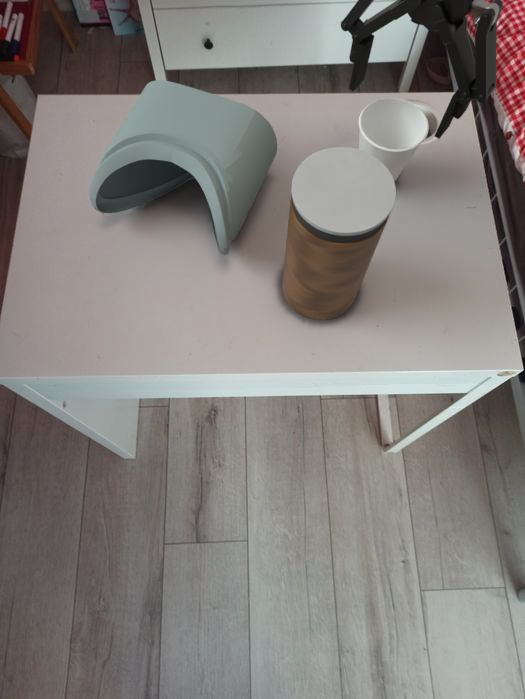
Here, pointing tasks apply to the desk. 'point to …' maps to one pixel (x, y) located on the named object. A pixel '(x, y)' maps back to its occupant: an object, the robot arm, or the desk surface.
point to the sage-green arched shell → (187, 155)
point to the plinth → (323, 270)
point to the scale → (342, 194)
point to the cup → (392, 131)
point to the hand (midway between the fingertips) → (398, 107)
